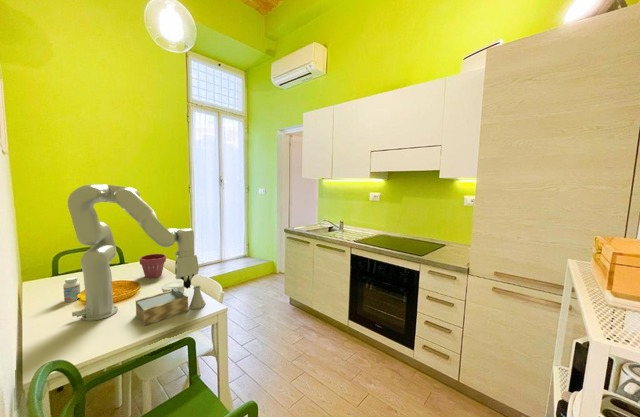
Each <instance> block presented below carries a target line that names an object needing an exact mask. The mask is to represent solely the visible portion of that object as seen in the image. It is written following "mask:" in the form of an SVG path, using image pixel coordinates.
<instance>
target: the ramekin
mask: <svg viewBox="0 0 640 417" xmlns="http://www.w3.org/2000/svg"><path fill="white" fill-rule="evenodd" d="M172 288H176V289H178V290H179V291H180V292H181V293H182V294H183V295H184V292H185V287H184V281H171V282H168V283H165V284H163V285H162V286H161V290H162V293H164V292H168V291H171V290H172Z"/></svg>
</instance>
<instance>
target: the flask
mask: <svg viewBox="0 0 640 417" xmlns="http://www.w3.org/2000/svg"><path fill="white" fill-rule="evenodd" d="M201 287H202V286H200V285H195V286H193V295H192V298H191V302H190V303H189V305H188V309H192V310H199V309H201V308H203V307H205V306H206V304H207V303H206V301H205V300H204V298H203V295H202V292H201Z"/></svg>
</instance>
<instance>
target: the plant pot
mask: <svg viewBox="0 0 640 417" xmlns="http://www.w3.org/2000/svg"><path fill="white" fill-rule="evenodd" d="M166 261H167V256H166V254H164V253H163V254H162V253H153V254H152V253H150V254H146V255H143V256H140V257H139V264H140V265H141V268H142V271H143V274H144V278H146V279H156V278H158V277H161V276H162V275H163V271H164V266H165V263H166Z"/></svg>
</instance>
